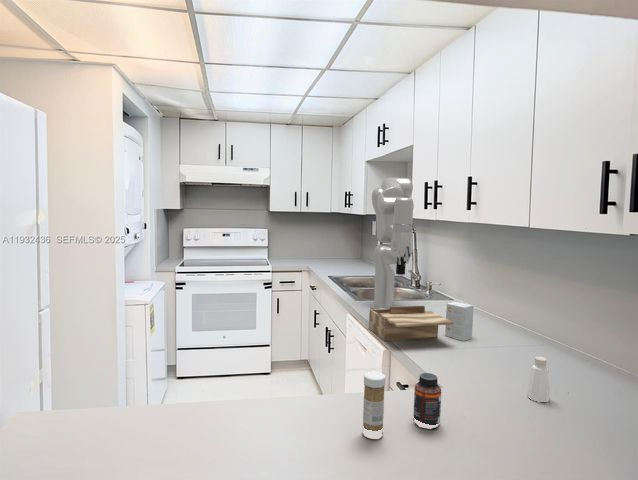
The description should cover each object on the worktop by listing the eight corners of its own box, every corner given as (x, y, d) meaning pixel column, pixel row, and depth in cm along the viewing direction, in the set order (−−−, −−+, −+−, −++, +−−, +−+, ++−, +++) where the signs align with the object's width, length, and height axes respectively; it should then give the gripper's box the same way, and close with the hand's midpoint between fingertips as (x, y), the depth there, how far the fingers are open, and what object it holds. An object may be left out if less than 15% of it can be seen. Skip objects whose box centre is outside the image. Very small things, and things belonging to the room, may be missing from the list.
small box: (472, 338, 160) (474, 305, 159) (463, 341, 156) (465, 307, 155) (453, 333, 166) (455, 301, 165) (444, 335, 162) (446, 303, 161)
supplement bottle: (445, 427, 94) (448, 378, 93) (426, 433, 91) (428, 383, 90) (426, 415, 99) (428, 369, 98) (407, 420, 96) (409, 373, 95)
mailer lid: (379, 315, 158) (379, 306, 158) (430, 313, 164) (431, 304, 164) (396, 327, 143) (397, 317, 143) (453, 324, 148) (453, 315, 148)
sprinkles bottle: (381, 429, 92) (383, 371, 91) (384, 441, 87) (387, 379, 86) (360, 429, 92) (363, 370, 91) (362, 440, 87) (365, 378, 86)
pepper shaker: (522, 395, 111) (524, 355, 110) (537, 392, 113) (539, 353, 112) (539, 404, 106) (542, 362, 105) (554, 401, 108) (557, 360, 107)
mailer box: (368, 328, 169) (369, 309, 168) (417, 326, 174) (418, 307, 173) (384, 341, 153) (385, 320, 153) (437, 338, 159) (438, 317, 158)
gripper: (386, 227, 171) (384, 271, 172) (402, 229, 156) (399, 277, 158) (402, 227, 173) (401, 271, 174) (420, 230, 158) (417, 277, 160)
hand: (400, 274), depth 166 cm, fingers closed
